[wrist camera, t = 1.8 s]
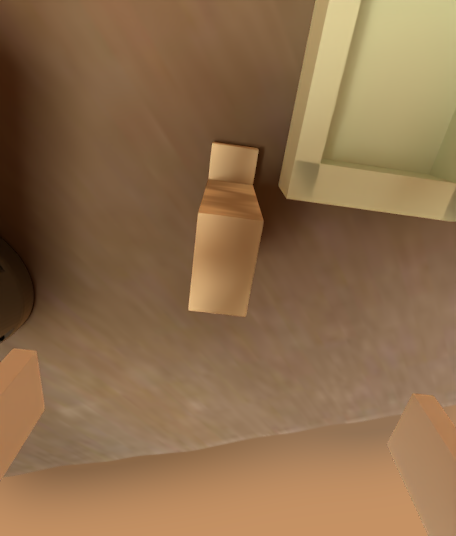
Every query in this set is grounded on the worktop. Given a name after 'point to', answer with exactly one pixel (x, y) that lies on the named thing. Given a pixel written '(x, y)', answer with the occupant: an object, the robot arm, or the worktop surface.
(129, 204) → the worktop surface
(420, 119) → the well block
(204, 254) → the wooden stepped block
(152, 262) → the worktop surface
